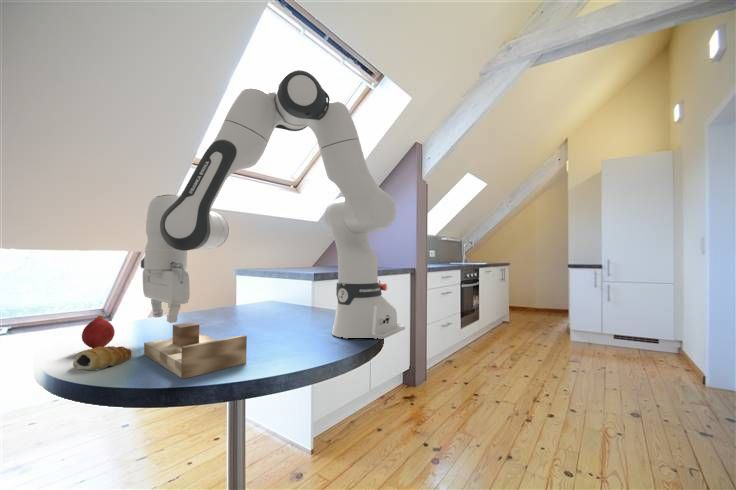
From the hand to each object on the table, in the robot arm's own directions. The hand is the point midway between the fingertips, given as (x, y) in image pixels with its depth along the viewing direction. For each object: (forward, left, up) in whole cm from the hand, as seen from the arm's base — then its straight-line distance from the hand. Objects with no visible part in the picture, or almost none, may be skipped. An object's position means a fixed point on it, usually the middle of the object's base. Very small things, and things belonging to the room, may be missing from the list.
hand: (164, 319), depth 83 cm
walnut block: (0, +12, -4) cm, 12 cm away
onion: (+12, -6, -6) cm, 15 cm away
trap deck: (0, +16, -6) cm, 17 cm away
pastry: (+13, +6, -7) cm, 16 cm away
